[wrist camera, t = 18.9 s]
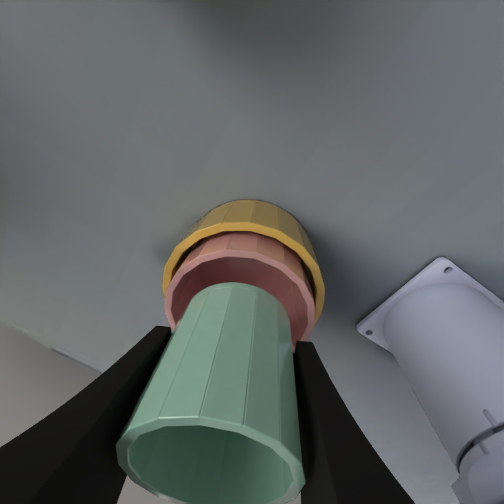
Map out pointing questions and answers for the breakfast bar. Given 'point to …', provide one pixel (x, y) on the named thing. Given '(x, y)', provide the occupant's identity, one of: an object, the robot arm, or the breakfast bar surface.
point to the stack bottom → (256, 220)
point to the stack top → (245, 275)
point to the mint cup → (220, 406)
